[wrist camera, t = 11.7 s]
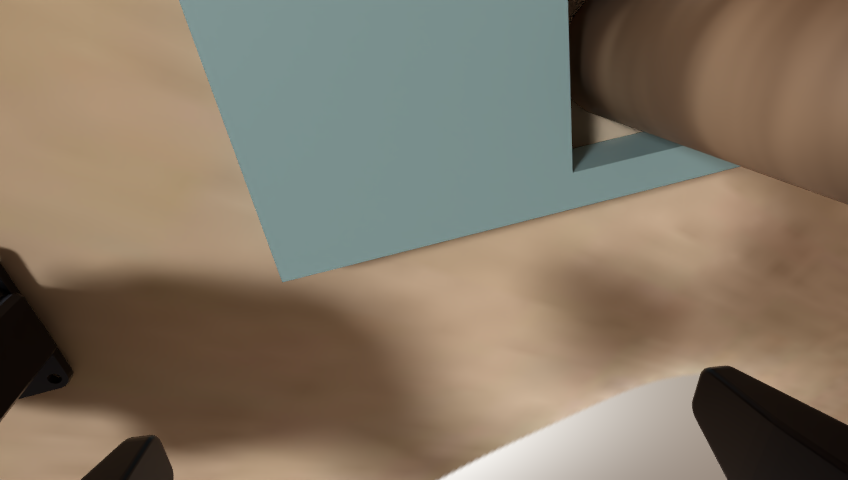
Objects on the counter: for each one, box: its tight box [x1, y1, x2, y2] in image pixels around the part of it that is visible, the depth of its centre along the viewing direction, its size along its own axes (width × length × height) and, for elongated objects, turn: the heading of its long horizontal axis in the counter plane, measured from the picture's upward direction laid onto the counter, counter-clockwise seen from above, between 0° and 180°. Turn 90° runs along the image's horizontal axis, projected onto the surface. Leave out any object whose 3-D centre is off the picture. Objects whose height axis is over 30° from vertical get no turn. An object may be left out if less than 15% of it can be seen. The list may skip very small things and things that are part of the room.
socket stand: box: [179, 0, 740, 282], centre depth 17 cm, size 20×10×2 cm, turn 100°
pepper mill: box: [569, 0, 848, 204], centre depth 12 cm, size 5×5×15 cm
